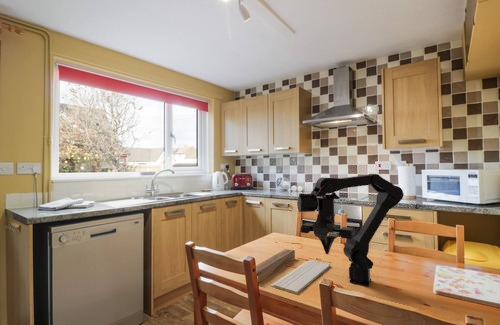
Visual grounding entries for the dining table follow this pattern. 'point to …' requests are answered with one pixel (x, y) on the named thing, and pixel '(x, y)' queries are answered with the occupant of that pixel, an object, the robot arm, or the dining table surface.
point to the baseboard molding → (301, 276)
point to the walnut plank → (274, 263)
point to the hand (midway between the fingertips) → (327, 253)
